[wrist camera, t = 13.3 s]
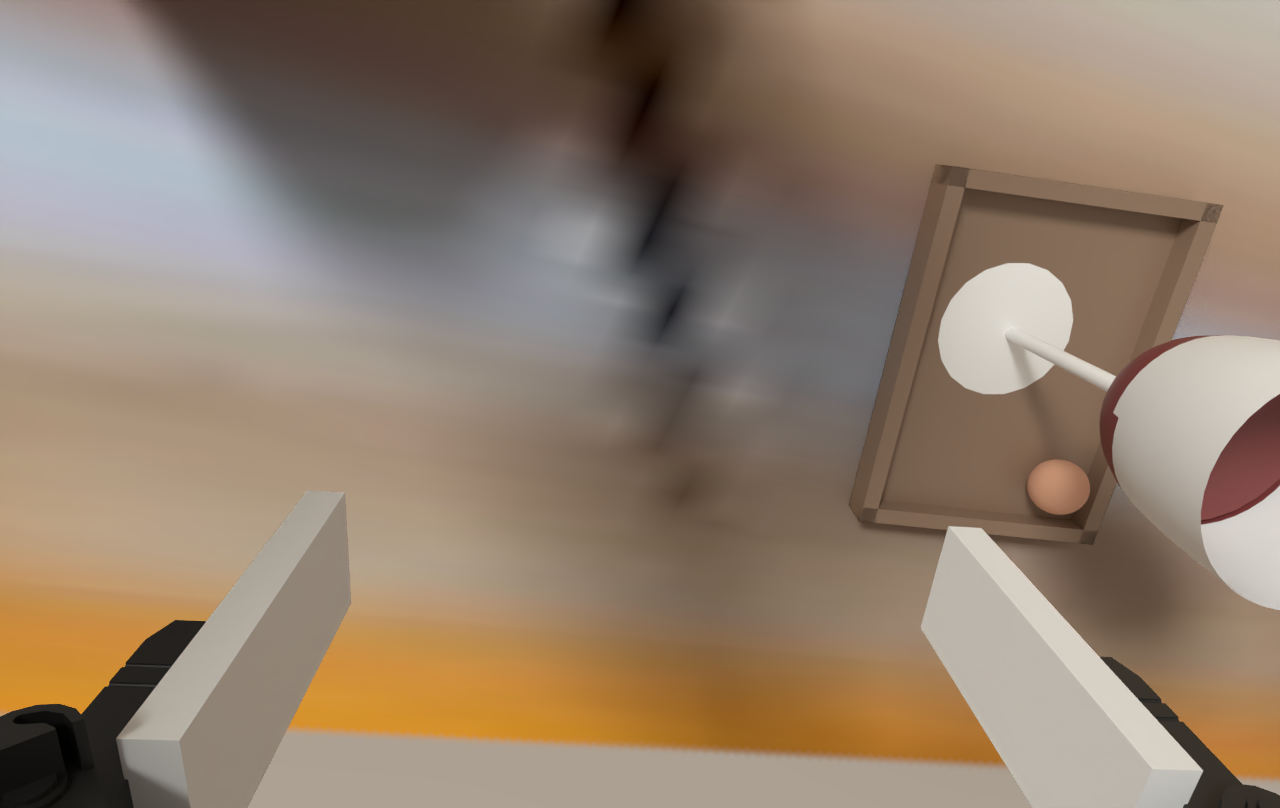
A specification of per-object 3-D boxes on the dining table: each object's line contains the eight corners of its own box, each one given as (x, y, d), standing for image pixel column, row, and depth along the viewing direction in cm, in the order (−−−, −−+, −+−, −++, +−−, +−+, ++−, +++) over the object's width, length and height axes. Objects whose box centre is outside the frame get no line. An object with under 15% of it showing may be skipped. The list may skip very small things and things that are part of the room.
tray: (935, 164, 43) (952, 166, 41) (1194, 201, 44) (1223, 205, 42) (848, 505, 50) (859, 521, 48) (1073, 528, 52) (1092, 544, 50)
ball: (1025, 447, 49) (1056, 470, 45) (1076, 453, 49) (1110, 476, 46) (1009, 496, 50) (1038, 521, 46) (1059, 501, 50) (1091, 527, 47)
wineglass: (1020, 222, 43) (1395, 305, 23) (1107, 335, 46) (1514, 502, 25) (901, 325, 45) (1149, 490, 25) (991, 429, 48) (1283, 655, 27)
